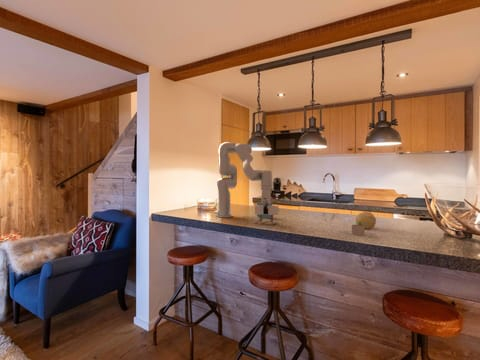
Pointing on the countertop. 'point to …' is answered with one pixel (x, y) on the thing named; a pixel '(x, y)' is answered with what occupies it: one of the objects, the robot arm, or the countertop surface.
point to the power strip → (271, 210)
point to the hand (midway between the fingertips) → (266, 213)
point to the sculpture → (366, 220)
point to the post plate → (266, 221)
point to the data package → (263, 215)
